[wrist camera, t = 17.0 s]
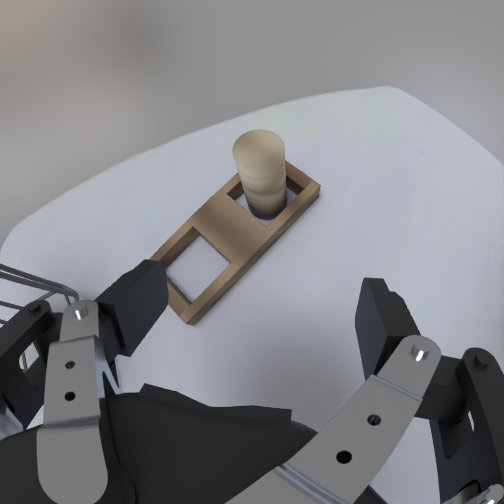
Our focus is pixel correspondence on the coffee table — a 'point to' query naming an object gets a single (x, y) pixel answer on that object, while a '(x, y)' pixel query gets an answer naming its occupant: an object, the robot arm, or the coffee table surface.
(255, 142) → the banded peg
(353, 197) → the coffee table surface
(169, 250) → the socket block
